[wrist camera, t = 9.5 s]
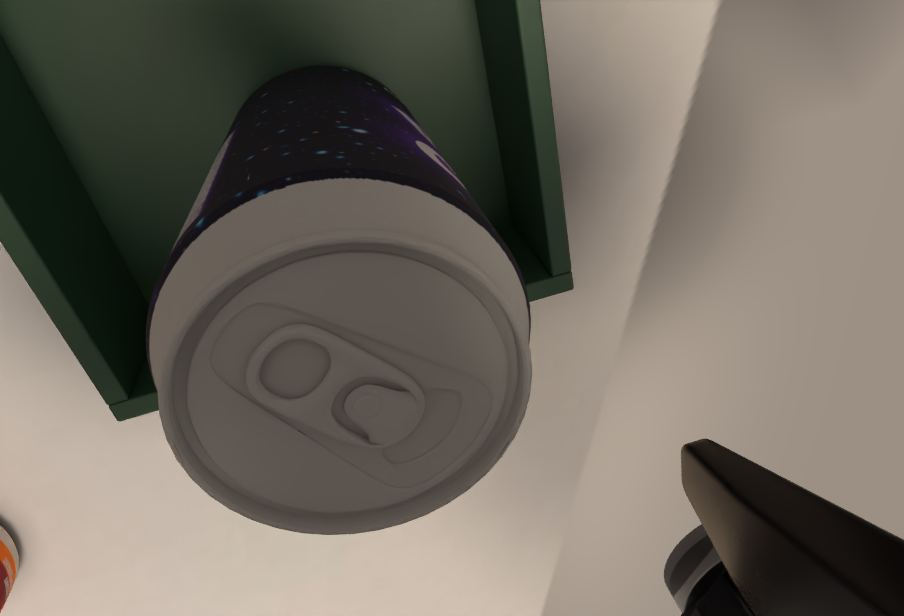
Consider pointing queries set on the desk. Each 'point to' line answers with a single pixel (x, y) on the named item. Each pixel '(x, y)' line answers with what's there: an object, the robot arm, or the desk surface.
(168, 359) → the beverage can
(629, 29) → the desk surface
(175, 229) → the bin
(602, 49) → the desk surface
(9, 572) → the pill bottle
